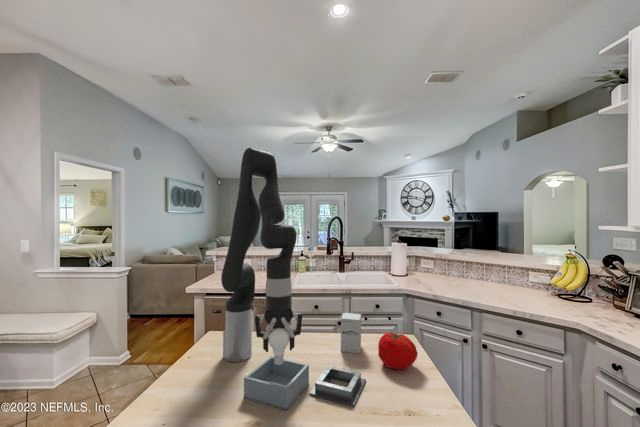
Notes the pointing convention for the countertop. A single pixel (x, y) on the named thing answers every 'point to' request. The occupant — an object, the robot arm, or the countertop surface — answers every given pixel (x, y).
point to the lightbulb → (278, 343)
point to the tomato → (397, 351)
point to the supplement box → (351, 333)
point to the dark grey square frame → (339, 392)
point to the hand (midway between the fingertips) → (278, 349)
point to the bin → (276, 383)
